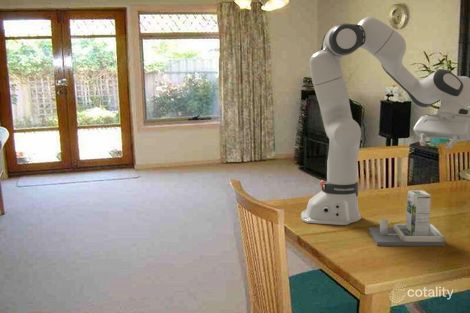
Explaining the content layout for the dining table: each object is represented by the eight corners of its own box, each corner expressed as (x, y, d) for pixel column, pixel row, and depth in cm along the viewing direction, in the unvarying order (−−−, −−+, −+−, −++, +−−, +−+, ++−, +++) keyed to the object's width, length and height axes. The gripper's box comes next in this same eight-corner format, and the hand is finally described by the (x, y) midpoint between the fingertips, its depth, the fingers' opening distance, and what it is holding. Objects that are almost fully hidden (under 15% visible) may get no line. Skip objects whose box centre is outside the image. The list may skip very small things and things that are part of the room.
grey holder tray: (377, 245, 150) (377, 227, 149) (368, 230, 164) (369, 213, 163) (444, 245, 148) (445, 227, 147) (430, 230, 162) (431, 213, 161)
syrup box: (405, 231, 158) (406, 190, 156) (422, 231, 158) (424, 189, 156) (411, 237, 153) (413, 194, 150) (429, 237, 153) (431, 194, 150)
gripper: (419, 108, 173) (404, 137, 169) (476, 111, 157) (461, 143, 153) (425, 119, 177) (410, 148, 172) (481, 123, 161) (466, 155, 157)
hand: (434, 146), depth 163 cm, fingers open, 8 cm apart
